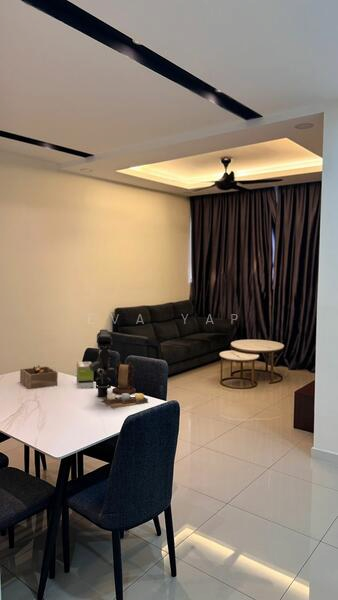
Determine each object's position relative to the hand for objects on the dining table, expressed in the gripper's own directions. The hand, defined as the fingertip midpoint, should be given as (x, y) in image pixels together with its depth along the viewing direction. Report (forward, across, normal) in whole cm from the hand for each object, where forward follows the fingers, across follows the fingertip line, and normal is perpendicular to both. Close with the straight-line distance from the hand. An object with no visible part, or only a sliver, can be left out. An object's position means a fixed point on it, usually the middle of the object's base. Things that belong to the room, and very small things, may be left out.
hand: (103, 383), depth 236 cm
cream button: (+11, +1, +5) cm, 12 cm away
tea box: (+12, -44, +9) cm, 47 cm away
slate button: (+10, +5, +12) cm, 17 cm away
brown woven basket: (+12, -14, +22) cm, 29 cm away
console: (+12, +5, +11) cm, 17 cm away
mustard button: (+10, +9, +19) cm, 23 cm away
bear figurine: (+12, -62, -14) cm, 65 cm away
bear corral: (+12, -62, -15) cm, 65 cm away
